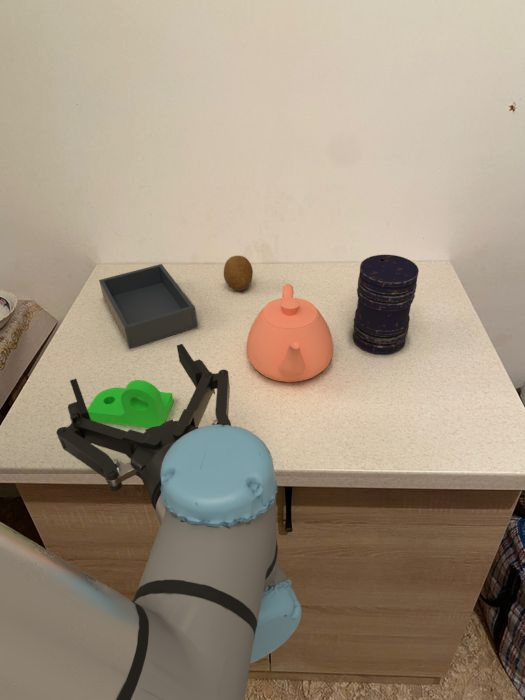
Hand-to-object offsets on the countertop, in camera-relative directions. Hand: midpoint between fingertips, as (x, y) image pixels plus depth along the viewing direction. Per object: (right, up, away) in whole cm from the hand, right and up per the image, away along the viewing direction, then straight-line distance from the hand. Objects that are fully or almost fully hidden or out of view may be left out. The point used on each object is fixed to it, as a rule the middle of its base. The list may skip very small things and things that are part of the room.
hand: (130, 369), depth 64 cm
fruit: (+12, +15, +45) cm, 49 cm away
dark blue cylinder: (+38, +4, +30) cm, 49 cm away
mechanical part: (-4, -8, +17) cm, 19 cm away
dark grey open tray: (-6, +10, +39) cm, 41 cm away
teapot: (+22, 0, +25) cm, 33 cm away
